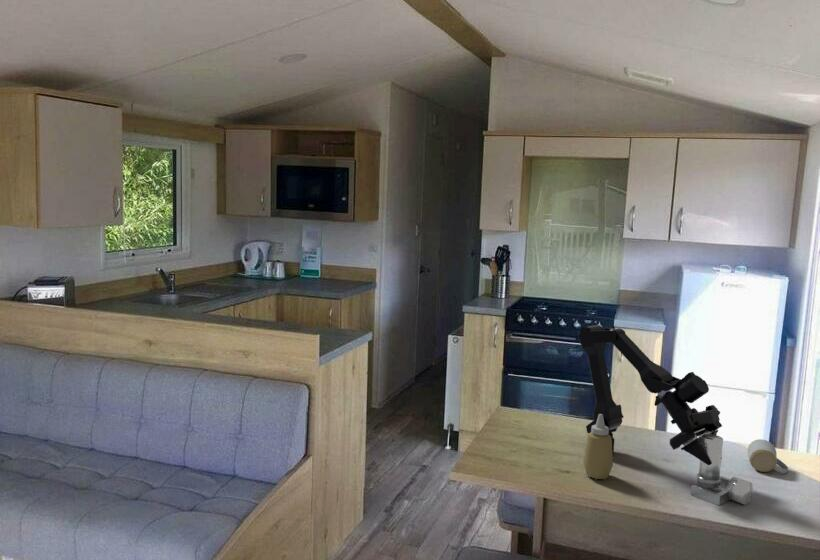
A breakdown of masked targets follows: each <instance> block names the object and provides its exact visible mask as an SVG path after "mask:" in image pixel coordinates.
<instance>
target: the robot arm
mask: <svg viewBox="0 0 820 560" xmlns="http://www.w3.org/2000/svg"><path fill="white" fill-rule="evenodd" d="M578 340H579V344H580V347H581V349H582V350H583V351H584V352H585V354H586V355H587V358H588V359H587V360H588V364H589V370H590V374H591V380H592V386H593V390H594V396H595V405H594V410H593V420H592V421H591V422H590V423H588V424H587V425H586V426H585V427H586V432H587V434H589V433H590V432H591V427H592V426H593V425H596V422H597V419H598V415H599V414H603V418H604V424H605V426H607V427H608V428H609V432H608V434H609V435H610V436H611V438H612V456H614V450H615V438H614V432H617V430H618V428H619V427H621V424H622V423H623V419H624V417H625V416H624V414H623V410H622V405H621V404H616V402H615V401H614V399H613V395H612V389H611V385H610V379H609V374H608V368H607V362H606V357H605V350H606V348H607V345H608V343H612V345H613V346H614V347H615V348H616V350H618V351H619V352H620V354H622V356H624V358H625V359H626V360H627V361H628V362H629V363H630V364H631V365H632V367H634V368H635V370H636V371H637V372H638V374H639V377H640V380H641V382H642V384H643V385H644V386H645V388H646V389H647V391H648V392H650V393H652V394H659V393H663V392H665V393H664V394H659V395H656V396H655V399H654V406H655V407H658V406H661V405H662V406H663V407H664V409H665V410H666V412H667V413H668V414H669V416H670V417H671V419H672V420H670V423H671V424H672V425H676V426H677V428H678V429H679V430H680V432H679V433H678V434H676V435H674V436H673V437H671V438H670V439H669V445H670V447H671V449H672V450H673V451H674V450H677V449H679V448H680V447H681V446H682V447H681V448H680V450H681V451H685V453H688V454H689V455H691V456H693V457H695V459H696V458H697V459H698V460H699V461H700V460H701V461H703V462H704V463H706V464H707V465H711V464H712V462H711V460H710V458H709V456H708V455H707V453H706V451H705V450H704V448H703V446H702V444H701V443H702V435H704V434H713V435H717V436H718V433H719V429H720V428H722V427H723V424H722V423H721V422H720V420H721V419H720V414H721V411H720V410H718V409H719V408H717V407H716V405H714V404H711V405H710V404H709V405H708V406H706V407H705V410H702V411H698V410H697V409H696V408H694V407H693V408H691V406H690V405H689V404H692V403H694V402H696V401H698V400H699V399H700V398H701V397H703V396H705V395H706V394H707V393H708V394H709V391H710V390H709V389H710V388H709V386H708V385H709V384H708V383H707V382H706V380H705V379H703V378H702V377H701V376H699V375H696V374H695V373H694V371H691V372H688V373H687V374H685V375H684V377H682V378H681V379H680V378H678V377H675V376H673V375H672V373H670V372H669V371H668V370H667V369H665V368H664V367H663V366H662V365H659V364H657V363H655V362H653V361H652V360H651V359H650V358H649V357H648V356H647V355H646V354H645V353H644V351H642V349H640V347H639V346H638V345H636V343H635V342H634V341H633V340H632V339H631V338H630V337H629V336H628V335H627V334H626V331H625V330H624V329H622V328H614V327H613V328H612V327H611V328H610V327H603V326H602V325H600V324H595V325H590V326H584V327H582V328H581V329H580V330H579V331H578ZM671 390H673V391H671ZM688 403H689V404H688ZM722 459H723V457H721V460H722Z"/></svg>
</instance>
